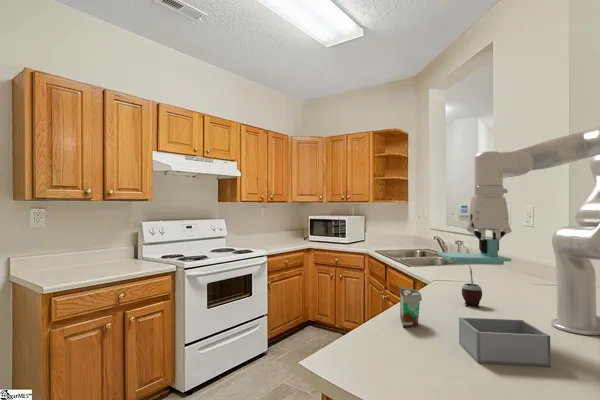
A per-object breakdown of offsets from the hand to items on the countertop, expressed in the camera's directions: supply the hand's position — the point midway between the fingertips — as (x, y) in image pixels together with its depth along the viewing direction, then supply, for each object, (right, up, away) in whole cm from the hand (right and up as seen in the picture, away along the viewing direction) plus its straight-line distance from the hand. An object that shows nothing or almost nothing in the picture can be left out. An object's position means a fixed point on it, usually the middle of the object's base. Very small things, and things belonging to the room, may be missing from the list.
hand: (489, 252), depth 104 cm
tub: (-7, -23, -18) cm, 30 cm away
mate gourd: (+9, -25, +28) cm, 39 cm away
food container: (-22, -24, +5) cm, 32 cm away
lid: (-5, -3, 0) cm, 6 cm away
